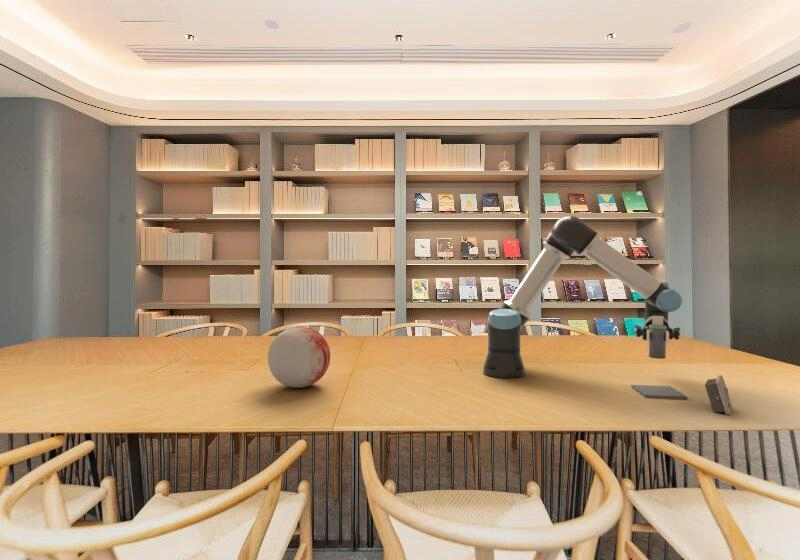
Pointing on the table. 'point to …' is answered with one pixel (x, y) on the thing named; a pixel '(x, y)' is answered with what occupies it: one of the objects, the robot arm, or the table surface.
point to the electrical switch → (718, 395)
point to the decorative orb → (298, 357)
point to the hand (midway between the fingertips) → (657, 337)
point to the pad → (658, 391)
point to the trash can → (657, 338)
